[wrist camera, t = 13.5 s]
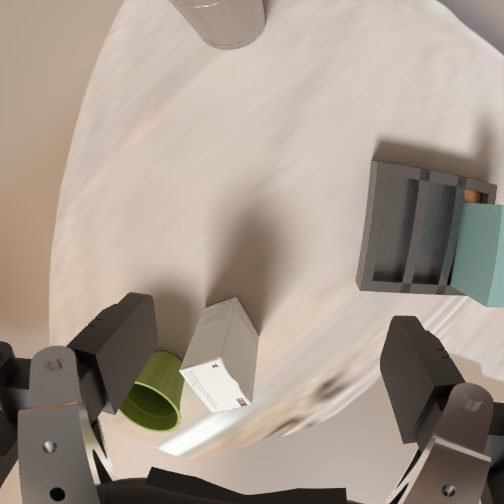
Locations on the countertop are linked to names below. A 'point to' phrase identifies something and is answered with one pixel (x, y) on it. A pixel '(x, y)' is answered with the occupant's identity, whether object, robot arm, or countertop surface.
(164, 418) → the plant pot
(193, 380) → the skincare box
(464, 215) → the panel
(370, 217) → the rack
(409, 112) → the countertop surface
